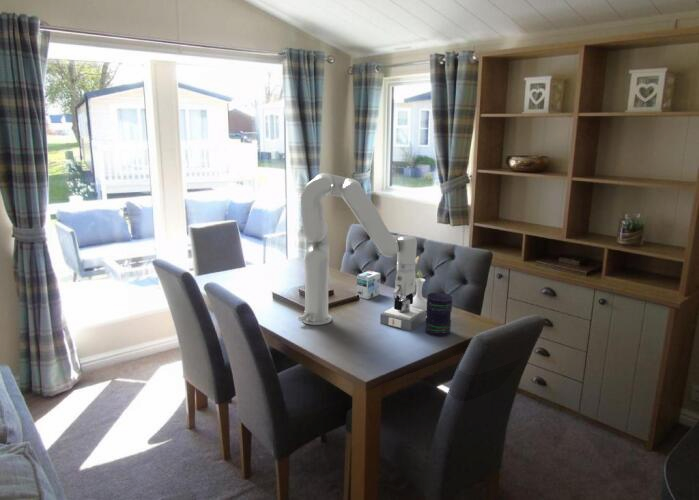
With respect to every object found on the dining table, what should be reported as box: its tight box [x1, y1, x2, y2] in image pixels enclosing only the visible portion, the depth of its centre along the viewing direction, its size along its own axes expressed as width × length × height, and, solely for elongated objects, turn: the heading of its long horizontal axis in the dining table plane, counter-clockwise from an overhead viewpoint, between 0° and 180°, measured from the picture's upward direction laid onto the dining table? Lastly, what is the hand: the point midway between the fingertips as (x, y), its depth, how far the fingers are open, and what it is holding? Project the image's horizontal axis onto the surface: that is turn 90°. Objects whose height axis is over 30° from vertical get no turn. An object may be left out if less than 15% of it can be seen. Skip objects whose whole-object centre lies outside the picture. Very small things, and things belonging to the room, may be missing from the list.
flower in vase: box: [410, 255, 427, 312], centre depth 231 cm, size 13×11×25 cm
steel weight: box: [397, 297, 410, 313], centre depth 217 cm, size 5×5×5 cm
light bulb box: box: [356, 270, 381, 300], centre depth 251 cm, size 11×7×11 cm, turn 143°
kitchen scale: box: [379, 306, 427, 332], centre depth 218 cm, size 15×14×5 cm
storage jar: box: [424, 292, 453, 338], centre depth 207 cm, size 10×10×15 cm
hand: (403, 306), depth 218 cm, fingers open, 9 cm apart
